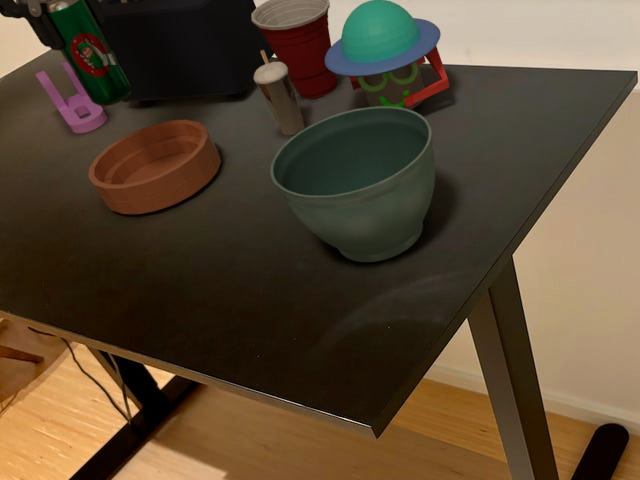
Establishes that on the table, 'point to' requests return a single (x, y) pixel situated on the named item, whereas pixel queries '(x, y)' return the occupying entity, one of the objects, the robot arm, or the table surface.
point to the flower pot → (360, 180)
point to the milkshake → (279, 95)
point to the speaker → (185, 46)
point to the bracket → (74, 104)
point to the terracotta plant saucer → (155, 167)
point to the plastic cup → (299, 41)
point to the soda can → (88, 51)
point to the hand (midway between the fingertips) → (78, 36)
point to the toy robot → (387, 54)
